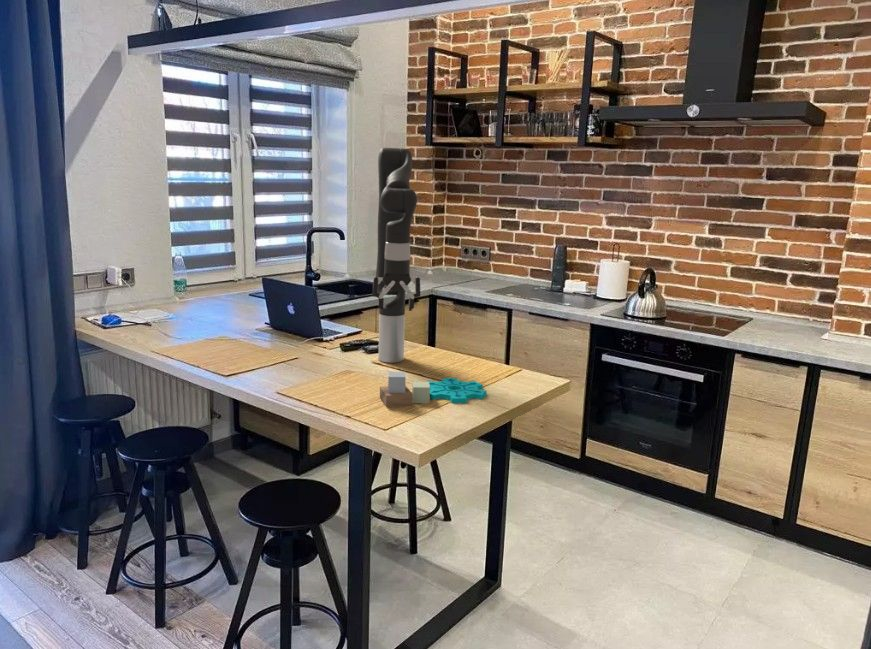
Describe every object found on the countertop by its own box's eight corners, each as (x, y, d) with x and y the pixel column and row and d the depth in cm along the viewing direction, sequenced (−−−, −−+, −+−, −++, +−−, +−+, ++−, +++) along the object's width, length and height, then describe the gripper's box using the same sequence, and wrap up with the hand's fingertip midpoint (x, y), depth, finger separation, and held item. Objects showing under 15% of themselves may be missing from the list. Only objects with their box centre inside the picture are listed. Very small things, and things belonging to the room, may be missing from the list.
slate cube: (388, 387, 198) (388, 371, 197) (404, 387, 199) (405, 371, 197) (388, 393, 193) (388, 376, 192) (405, 393, 194) (405, 377, 192)
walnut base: (379, 399, 199) (379, 386, 198) (404, 397, 202) (405, 385, 201) (386, 408, 192) (386, 395, 191) (412, 406, 194) (412, 393, 193)
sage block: (428, 397, 202) (412, 397, 201) (428, 382, 201) (412, 381, 200) (429, 403, 197) (412, 403, 196) (430, 387, 196) (413, 387, 195)
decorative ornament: (491, 403, 199) (478, 382, 218) (491, 398, 199) (478, 378, 218) (426, 403, 197) (420, 382, 216) (426, 398, 196) (420, 378, 216)
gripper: (419, 255, 198) (417, 307, 203) (372, 254, 196) (371, 307, 201) (422, 259, 191) (420, 313, 196) (373, 259, 189) (373, 313, 193)
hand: (396, 310), depth 198 cm, fingers open, 8 cm apart
